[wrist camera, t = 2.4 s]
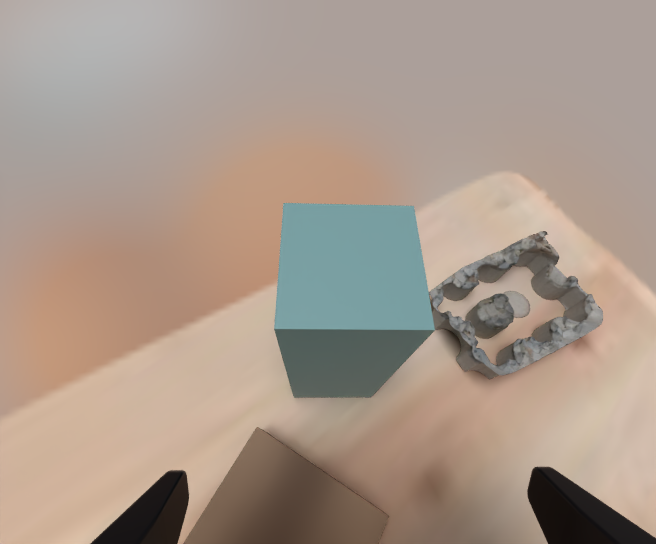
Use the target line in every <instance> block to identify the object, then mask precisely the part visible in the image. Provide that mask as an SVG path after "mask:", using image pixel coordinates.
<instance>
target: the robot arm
mask: <svg viewBox="0 0 656 544" xmlns="http://www.w3.org/2000/svg"><path fill="white" fill-rule="evenodd" d="M527 492H528V499H529V502H530V504H531V507H532V509H533V511H534V513H535V515H536V518H537V520H538V522H539V524H540V527H541V529H542V531H543V533H544V535H545V538H546V540H547V542H548V544H656V538H655V537H653V536H652V535H650V534H649V533H647V532H646V531H644V530H643V529H641V528H640V527H638V526H637V525H635V524H634V523H633V522H631V521H630V520H628V519H627V518H625V517H624V516H622V515H621V514H619V513H618V512H616V511H615V510H613V509H612V508H610V507H609V506H608V505H606V504H605V503H603V502H602V501H600V500H599V499H597V498H596V497H594V496H593V495H591V494H590V493H588V492H587V491H585V490H584V489H582V488H581V487H580V486H578V485H577V484H575V483H574V482H572V481H571V480H569V479H568V478H566V477H565V476H563V475H562V474H560V473H559V472H557V471H556V470H555V469H553V468H551V467H535V468H534V469H533V470H532V473H531V478H530V482H529V486H528V491H527ZM188 501H189V492H188V483H187V475H186V472H185V471H183V470H171V471H168V472H166V473H165V474H164V475H163V476H162V477H161V478H160V479H159V480H158V481H157V482H156V483H155V484H154V485H152V486H151V487H150V488H149V489H148V490H147V491H146V492H145V493H144V494H143V495H142V496H141V497H140V498H139V499H138V500H136V501H135V502H134V503H133V504H132V505H131V506H130V507H129V508H128V509H127V510H126V511H125V512H124V513H123V514H122V515H120V516H119V517H118V518H117V519H116V520H115V521H114V522H113V523H112V524H111V525H110V526H109V527H108V528H107V529H106V530H104V531H103V532H102V533H101V534H100V535H99V536H98V537H97V538H96V539H95V540H94V541H93V542H92V543H91V544H177V543H178V539H179V536H180V532H181V529H182V525H183V521H184V518H185V514H186V510H187V507H188Z"/></svg>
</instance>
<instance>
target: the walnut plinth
mask: <svg viewBox="0 0 656 544" xmlns="http://www.w3.org/2000/svg"><path fill="white" fill-rule="evenodd" d="M388 518H389V516H388V515H387V514H385V513H384V512H383V511H381V510H380V509H378V508H377V507H375V506H374V505H372V504H371V503H370V502H368V501H367V500H365V499H364V498H362V497H361V496H359V495H358V494H356V493H355V492H353V491H352V490H350V489H349V488H347V487H346V486H344V485H343V484H341V483H340V482H339V481H337V480H336V479H334V478H333V477H331V476H330V475H328V474H327V473H325V472H324V471H322V470H321V469H319V468H318V467H316V466H315V465H313V464H312V463H311V462H309V461H308V460H306V459H305V458H303V457H302V456H300V455H299V454H297V453H296V452H294V451H293V450H291V449H290V448H288V447H287V446H285V445H284V444H283V443H281V442H280V441H278V440H277V439H275V438H274V437H272V436H271V435H269V434H268V433H266V432H265V431H263V430H262V429H260V428H258V427H257V428H256V429H255V431H254V432H253V434H252V436H251V437H250V439H249V440H248V442H247V443H246V445H245V447H244V448H243V450H242V451H241V453H240V455H239V456H238V458H237V459H236V461H235V463H234V464H233V466H232V467H231V469H230V471H229V472H228V474H227V475H226V477H225V478H224V480H223V482H222V483H221V485H220V486H219V488H218V490H217V491H216V493H215V494H214V496H213V498H212V499H211V501H210V502H209V504H208V506H207V507H206V509H205V510H204V512H203V513H202V515H201V517H200V518H199V520H198V521H197V523H196V525H195V526H194V528H193V529H192V531H191V533H190V534H189V536H188V537H187V539H186V541H185V542H184V544H378V543H379V540H380V538H381V535H382V533H383V530H384V528H385V525H386V523H387V520H388Z"/></svg>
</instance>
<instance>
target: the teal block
mask: <svg viewBox="0 0 656 544" xmlns="http://www.w3.org/2000/svg"><path fill="white" fill-rule="evenodd" d="M274 330H275V333H276V337H277V340H278V344H279V347H280V351H281V354H282V358H283V361H284V365H285V368H286V372H287V375H288V379H289V382H290V386H291V389H292V393H293V396H294V397H372V396H373V395H374V394H375V393H376V391H377V390H378V389H379V388H380V387H381V386H382V385H383V384H384V383H385V382H386V381H387V380H388V379H389V378H390V377H391V376H392V375H393V374H394V373H395V372H396V370H397V369H398V368H399V367H400V366H401V365H402V364H403V363H404V362H405V361H406V360H407V359H408V358H409V357H410V356H411V355H412V354H413V353H414V352H415V351H416V349H417V348H418V347H419V346H420V345H421V344H422V343H423V342H424V341H425V340H426V339H427V338H428V337H429V336H430V335H431V334H432V333H433V332H434V331H435V327H434V321H433V316H432V310H431V304H430V298H429V292H428V286H427V281H426V275H425V269H424V263H423V257H422V251H421V245H420V240H419V234H418V228H417V222H416V216H415V210H414V206H391V205H346V204H301V203H300V204H299V203H298V204H297V203H284V206H283V219H282V231H281V245H280V259H279V273H278V286H277V299H276V313H275V327H274Z"/></svg>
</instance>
